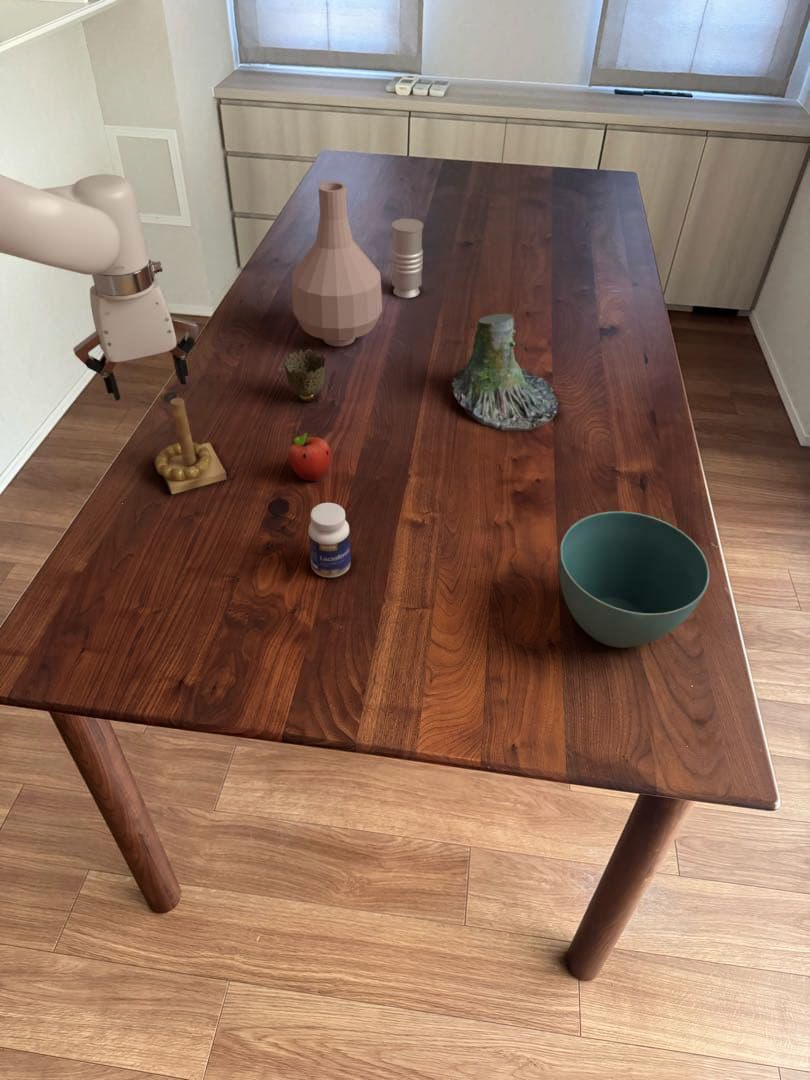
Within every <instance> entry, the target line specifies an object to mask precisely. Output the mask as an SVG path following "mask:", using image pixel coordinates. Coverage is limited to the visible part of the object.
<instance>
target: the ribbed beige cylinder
mask: <svg viewBox="0 0 810 1080" xmlns="http://www.w3.org/2000/svg"><path fill="white" fill-rule="evenodd" d="M391 228H392V248H391V251H390V253H391V256H390V257H391V261H390V263H391V265H390V269H391V270H392V271H391V272H392V273H391V285H392V286H393V287H394V289H393V294H394V295H395V296H397V297H399V298H403V299H404V298H405V299H409V298H410V299H411V298H414V297H417V296H419V294H420V292H421V290H420V287H421V286H422V284H423V279H422V278H423V277H422V271H423V261H424V260H423V259H424V255H423V253H424V250H423V229H424V223H423V222H422V221H420V220H418V219H415V218H399V219H396V220H394V221H392V222H391Z"/></svg>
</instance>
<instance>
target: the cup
mask: <svg viewBox="0 0 810 1080" xmlns="http://www.w3.org/2000/svg"><path fill="white" fill-rule="evenodd" d="M287 356H288V357H287ZM287 356H285V357H284V360H282V362H283V365H284V371H285V375H286V379H287V383H288V385H289V387H290V389H291V390H292V391H293V393H294V394H296V396H297V398H298V400H299V401H300V402H303V403H312V402H314V401H316V400H317V398H318V393H319V392H320V391H321V390H322V388H323V387H324V383H325V376H326V364H327V360H326V359H327V358H326V357H325V355H324V354H321V355H317V351H315V350H314V351H312V350H311V349H307V350H306V351H304V352H303V350H302V349H300V350H299V352H298V353H297V352H296V351H293V352H292V353H288V355H287Z"/></svg>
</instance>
